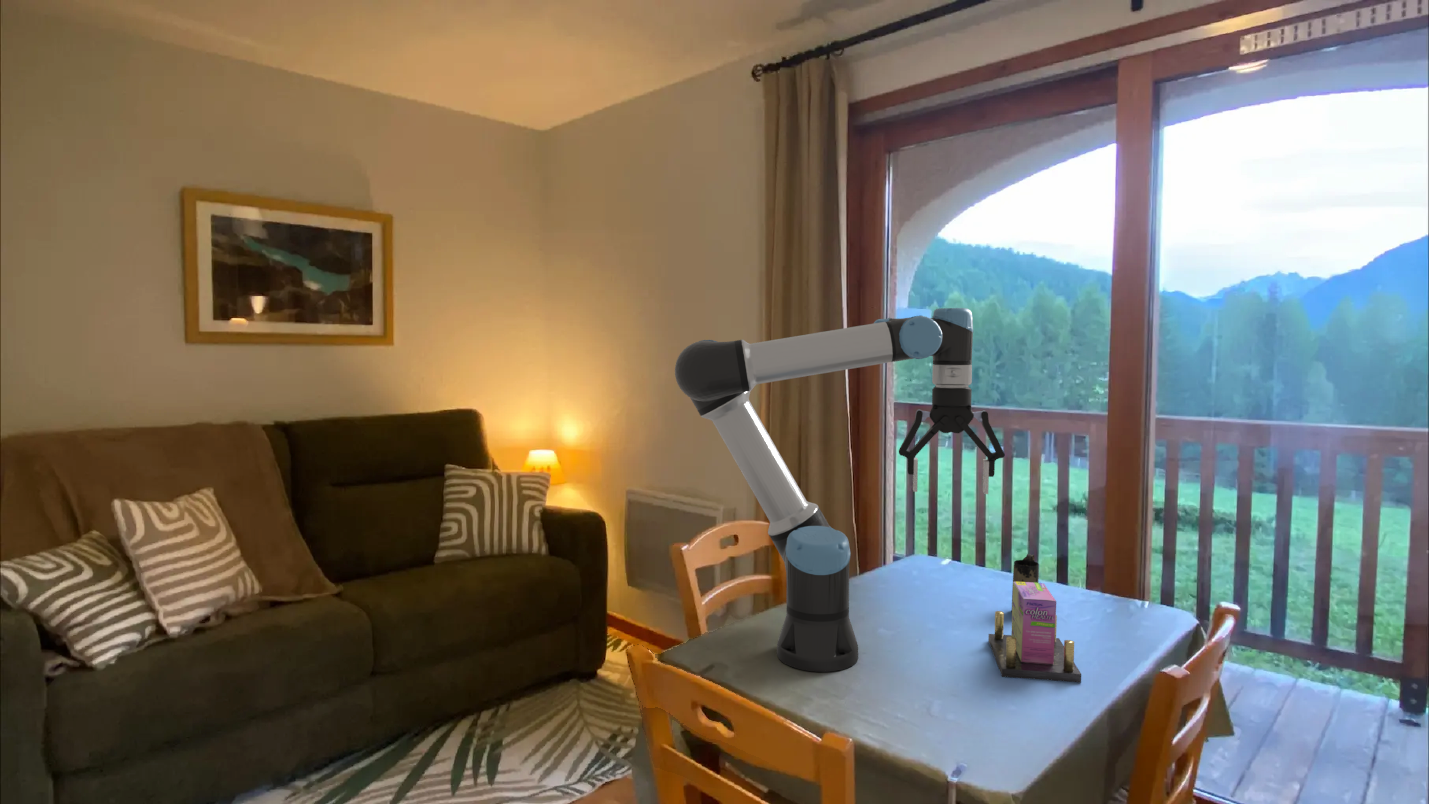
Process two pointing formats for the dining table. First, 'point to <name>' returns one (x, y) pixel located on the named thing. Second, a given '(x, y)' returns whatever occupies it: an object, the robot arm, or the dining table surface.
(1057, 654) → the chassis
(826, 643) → the robot arm
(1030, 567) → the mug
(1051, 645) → the box
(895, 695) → the dining table surface
